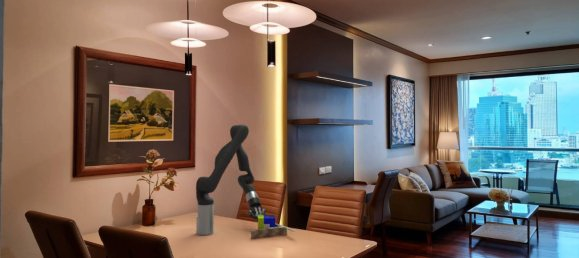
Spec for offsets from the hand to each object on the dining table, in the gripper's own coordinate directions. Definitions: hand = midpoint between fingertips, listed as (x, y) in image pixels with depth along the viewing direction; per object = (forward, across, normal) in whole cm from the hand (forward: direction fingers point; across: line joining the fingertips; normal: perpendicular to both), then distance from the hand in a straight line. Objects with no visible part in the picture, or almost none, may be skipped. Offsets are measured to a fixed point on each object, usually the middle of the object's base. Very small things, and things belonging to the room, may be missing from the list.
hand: (261, 223), depth 248 cm
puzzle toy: (+7, +1, -1) cm, 7 cm away
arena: (+11, -1, -5) cm, 12 cm away
